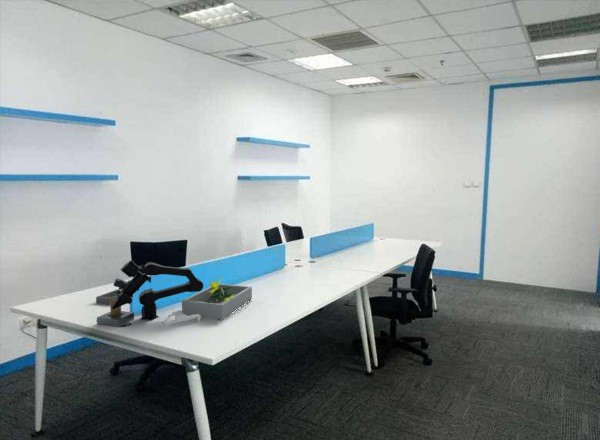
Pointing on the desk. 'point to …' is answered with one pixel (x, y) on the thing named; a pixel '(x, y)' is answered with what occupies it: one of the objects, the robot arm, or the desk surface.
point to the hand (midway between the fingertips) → (112, 307)
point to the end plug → (113, 300)
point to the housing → (115, 319)
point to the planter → (214, 310)
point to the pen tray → (106, 297)
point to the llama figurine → (180, 317)
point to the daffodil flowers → (218, 291)
